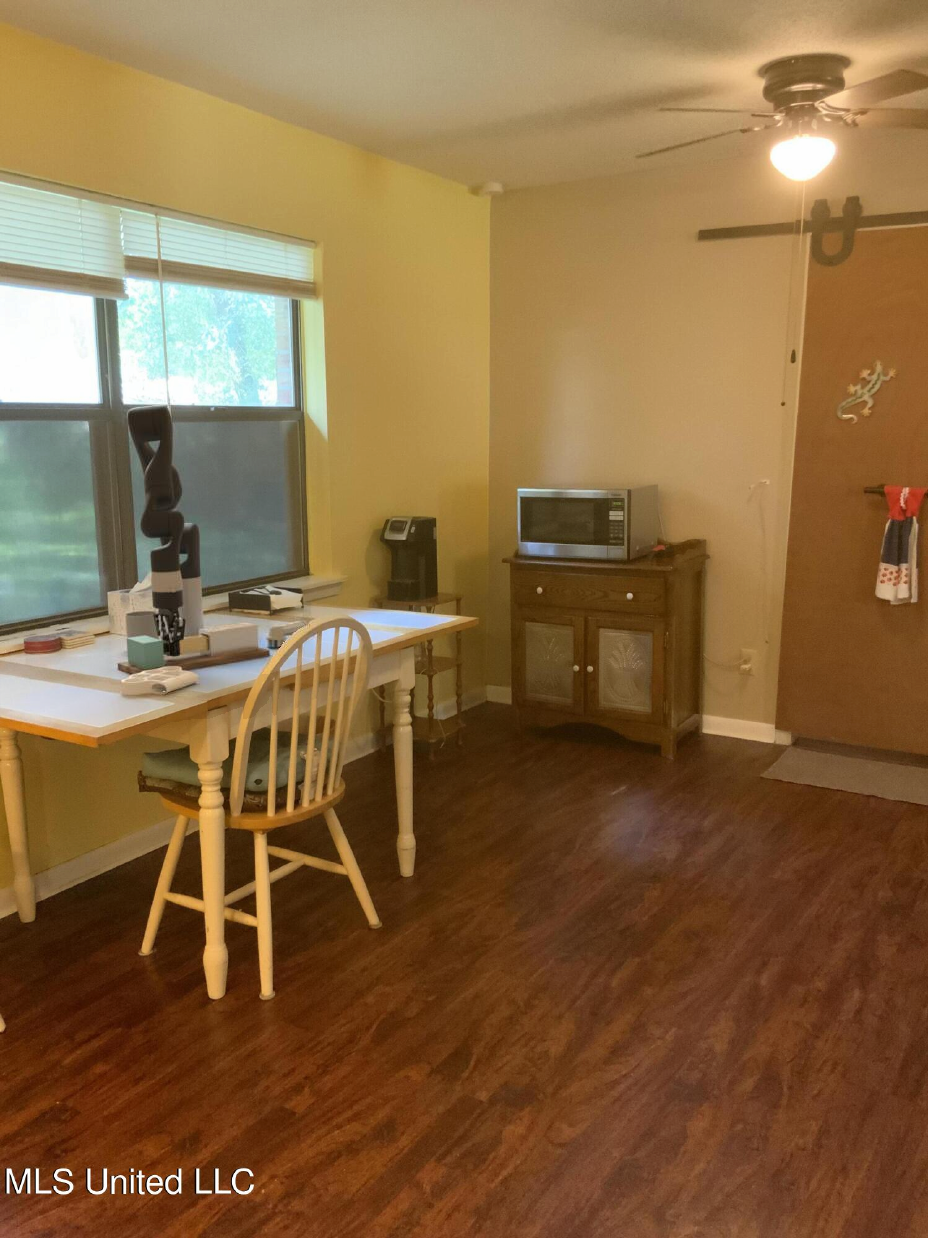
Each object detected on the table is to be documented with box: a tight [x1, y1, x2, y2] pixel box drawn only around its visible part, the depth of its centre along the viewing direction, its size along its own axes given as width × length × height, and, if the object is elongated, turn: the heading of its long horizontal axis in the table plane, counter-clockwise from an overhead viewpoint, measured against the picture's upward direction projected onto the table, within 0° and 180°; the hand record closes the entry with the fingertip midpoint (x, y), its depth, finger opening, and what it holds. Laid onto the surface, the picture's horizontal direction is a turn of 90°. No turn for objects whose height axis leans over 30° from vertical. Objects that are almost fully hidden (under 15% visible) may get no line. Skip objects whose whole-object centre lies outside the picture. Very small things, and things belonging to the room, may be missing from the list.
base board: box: [117, 646, 271, 675], centre depth 269 cm, size 14×36×2 cm, turn 131°
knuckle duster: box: [120, 666, 200, 696], centre depth 243 cm, size 3×18×15 cm
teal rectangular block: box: [126, 635, 165, 669], centre depth 259 cm, size 10×5×6 cm, turn 41°
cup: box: [125, 610, 160, 640], centre depth 287 cm, size 8×8×10 cm
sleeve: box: [199, 621, 260, 656], centre depth 274 cm, size 6×14×6 cm, turn 131°
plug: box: [162, 634, 209, 656], centre depth 267 cm, size 4×22×4 cm, turn 131°
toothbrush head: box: [265, 619, 309, 648], centre depth 296 cm, size 5×7×25 cm
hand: (171, 654), depth 264 cm, fingers closed on plug, 4 cm apart
